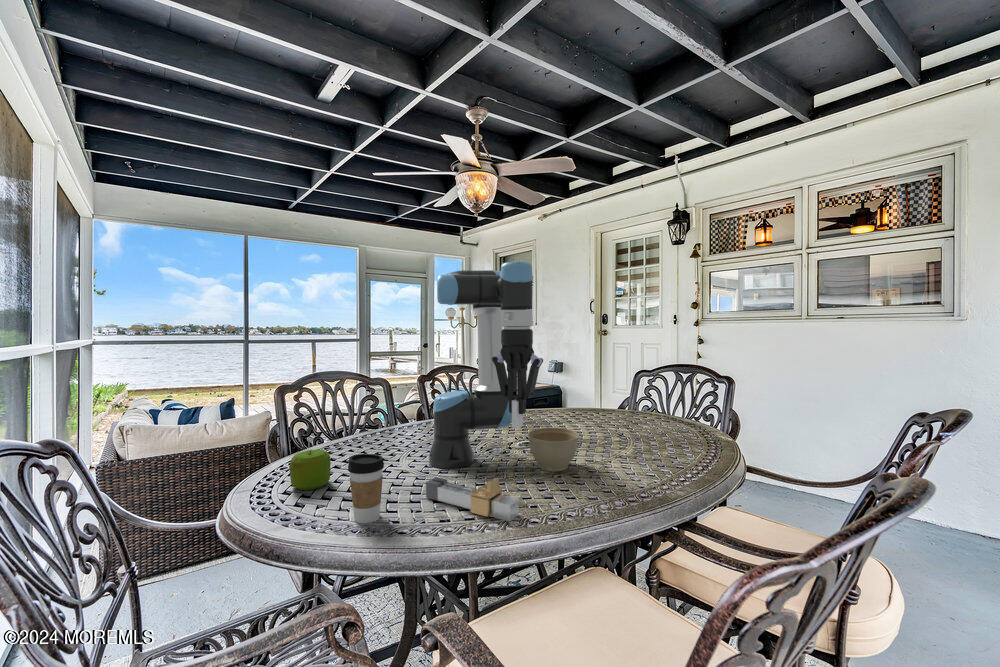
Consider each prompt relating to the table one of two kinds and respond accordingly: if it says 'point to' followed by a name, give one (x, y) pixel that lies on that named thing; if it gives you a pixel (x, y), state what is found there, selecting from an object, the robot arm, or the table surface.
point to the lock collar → (484, 497)
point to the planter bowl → (553, 447)
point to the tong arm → (453, 485)
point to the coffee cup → (366, 486)
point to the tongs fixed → (498, 504)
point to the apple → (310, 469)
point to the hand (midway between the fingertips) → (517, 426)
